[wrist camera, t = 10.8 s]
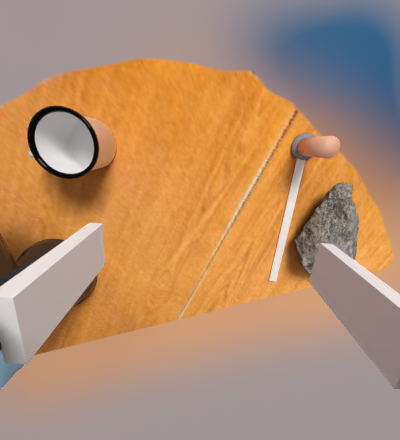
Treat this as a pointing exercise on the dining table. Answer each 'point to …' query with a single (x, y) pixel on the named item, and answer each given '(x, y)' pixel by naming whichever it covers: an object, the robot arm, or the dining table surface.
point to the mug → (69, 142)
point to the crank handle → (302, 150)
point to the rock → (330, 226)
